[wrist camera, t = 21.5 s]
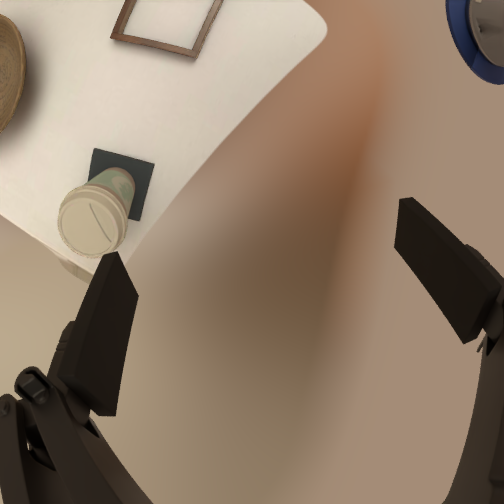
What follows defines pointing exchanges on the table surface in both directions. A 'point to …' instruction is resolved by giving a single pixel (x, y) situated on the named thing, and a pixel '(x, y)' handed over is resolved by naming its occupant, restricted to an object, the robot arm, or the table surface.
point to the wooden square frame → (194, 53)
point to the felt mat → (134, 167)
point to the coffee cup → (97, 213)
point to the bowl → (10, 69)
